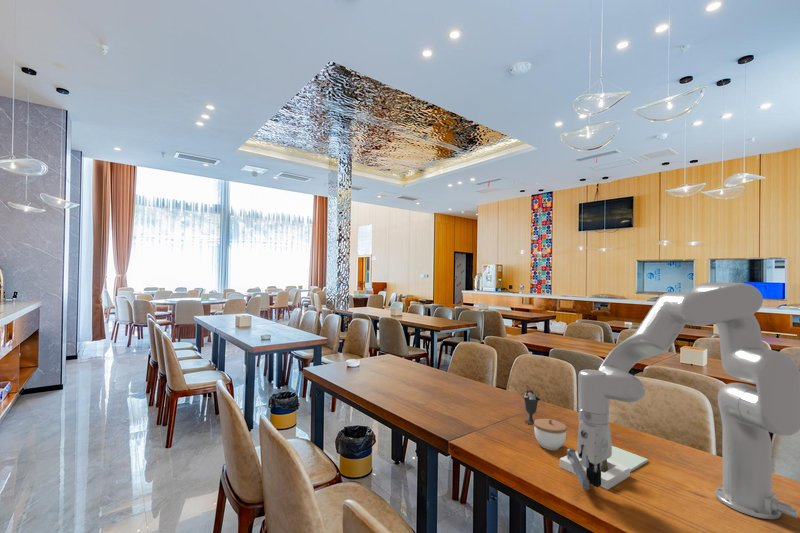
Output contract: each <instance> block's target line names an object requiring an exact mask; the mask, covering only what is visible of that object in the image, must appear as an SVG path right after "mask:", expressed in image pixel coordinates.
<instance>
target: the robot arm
mask: <svg viewBox="0 0 800 533" xmlns="http://www.w3.org/2000/svg"><path fill="white" fill-rule="evenodd" d="M763 303H764V299H763V295H762V293H761V291H760V290H759V289H758V288H757V287H755V286H753V285H752V284H749V283H745V282H703V283H698V284H696V285H695V286H694V287H693V288H692V289H691V291H690V292H687V291H670V292H665V293H663V294H661V295H660V296H659V297H658V298H657V299H656V301H655V302H654V304H653V305H652V306H651V308H650V309H649V311H648V313H647V314H646V315H645V317H644V319H643V320H642V321H641V323H640V324H639V326H638V327H637V329H636V330H635V332H634V333H633V334H632V335H630V336H629V337H627V338H626V339H625V340H623V341H621V342H620V343H619V344H618V345H617V346H615V347H614V348H613V349H612V350H611V351H609V353H608V354H607V356H606V357H605V358H604V359H603V362H601V364H600V367H599V368H598V370H597V369H588V368H587V369H582V370H580V371H579V372H578V376H577V384H578V386H577V389H578V390H577V396H578V397H577V398H578V399H577V400H578V403H577V404H578V406H577V408H578V409H577V413H578V414H577V415H578V417H577V419H578V421H579V422H578V428H577V444H576V445H577V446H576V447H577V450H576V451H577V452H578V457H579V458H580V459H582V461H581V465H582V466H584V467H585V468H586V475H587V477H588V479H589V485H592V486H594V487H595V488H599V487H601V486H600V485H601V471H600V470H601V469H602V461H604V460H606V459H608V458H610V457H611V455H612V446H613V445H612V444H613V443H612V432H611V427H610V400H613V401H618V402H622V403H629V404H630V403H636V402H639V401H641V400H642V399H643V398H644V397H645V394H646V388H645V385H644V383H643V382H642V380H640V378H638V377H637V376H635V375H633V374H631V373H629V372H630V370H631V369H632V368H633V367H634V366H635V365H636V364H637V363H639V362H640V361H642V360H644V359H647V358H651V357H655V356H659V355H662V354H665V353H667V352H668V351H669V350H670V348H671V346H673V343H674V342H675V340H676V339H677V338H678V336H679V335H680V333H681V332H682V330H683V329H684V327H685V326H686V325H688V326H693V327H703V326H710V325H715V324H716V326H717V330H718V337H719V347H720V348H719V349H720V350H719V351H720V359H721V360H720V361H721V365H722V369H723V371H724V372H725V373H726V374H727V375H729V376H731V377H733V378H735V379H738V380H741V381H744V382H747V383H749V384H747V383H742V382H730V383H727V384H724V385H723V386H722V387H721V388H720V389H719V391H718V394H717V404H718V409H719V413H720V417H721V428H722V430H721V432H722V439H721V440H722V444H721V445H722V451H721V452H722V454H721V455H722V486H719V487H717V488H715V490H714V493H715V497H716V498H717V499H718V500H719V501H720V502H721V503H722V504H724V505H726V506H727V507H728V508H731V509H733V510H735V511H737V512H739V513H742V514H745V515H748V516H751V517H753V518H759V519H763V520H777V519H780V518H781V516H782V514H784V515H787V516H788V517H790V518H794V519H797V518H798V510H797V509H794V508H793V505H792V504H789V503H786V502H783V501H780V500H779V499H777V496H776V495H777V494H776V493H775V492H773V471H772V468H773V467H772V465H773V464H772V463H773V462H772V460H773V458H772V457H773V455H772V453H773V450H772V449H773V446H772V444H773V443H772V440H771V436H770V435H771V434H774V435H778V436H784V437H787V436H788V437H789V436H793V435H795V434H797V433H799V431H800V369H799V367H798V365H797V364H796V362H795V361H794V360H793V359H792V358H791V357H790V356H789V355H787V354H785V353H783V352H781V351H777V350H773V349H768V348H765V347H764V343H763V342H764V341H763V335H762V331H761V326H760V323H759V320H758V319H757V318H756V316H755V313H757V312H758V311H760V309H761V308H762V306H763ZM750 384H754V385H755V386H753V385H750ZM770 433H771V434H770Z"/></svg>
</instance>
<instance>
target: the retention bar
mask: <svg viewBox="0 0 800 533" xmlns="http://www.w3.org/2000/svg"><path fill="white" fill-rule="evenodd" d="M575 452H576V449H574V448H573V447H567V448H566V456H567V458H569V460H570V462H571V464H572V467H573V469H574V471H575V473H576V475H575V476H576V478H577V480H578V482H579V484H580V486H581V489H582V490H585V491H586V490H588V491H589V490H590V484H589V479H588V477H587V475H586V473H585V471H584V469H583V467H582V465H581V463H580V461H579V459H578V457H577V455H576V453H575Z"/></svg>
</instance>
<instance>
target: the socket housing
mask: <svg viewBox="0 0 800 533" xmlns="http://www.w3.org/2000/svg"><path fill="white" fill-rule="evenodd" d="M575 453H576V455H577V457H578V452H577V450H575ZM578 459H579V461H580V463H581V461H582V459H580V458H579V457H578ZM558 460H559V465H558V466H559V468H561V469H562V470H565V471H567V472H569V473H571V474H573V475H575V476H577V475H576V473H575V471H574V469H573V467H572V464H571V462H570V460H569V458H567V455H565V456H562V457H560V458H559V459H558ZM607 464H608V471H606V472H605V473H604V472H602V471H601V485H600V486H599V487H601V488H602V489H606V490H607V491H608V490H610V489H611V488H613V487H615V486H616V485H618V484H620V483H621V482H623V481H624V480H627V478H629V477H631V476H630V475H631V472H630V468H629V467H626V466H624V465H622V464H619V463H617V462H614V461H612V460H609V459H607ZM582 467H583V469H584V471H585V473H586V468H585V467H584V466H582Z"/></svg>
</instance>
